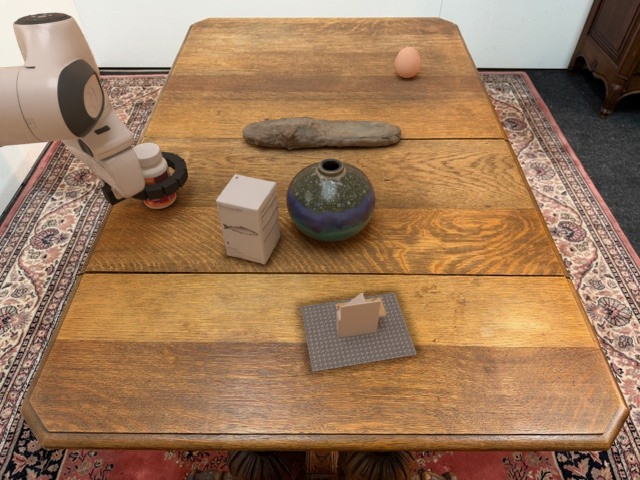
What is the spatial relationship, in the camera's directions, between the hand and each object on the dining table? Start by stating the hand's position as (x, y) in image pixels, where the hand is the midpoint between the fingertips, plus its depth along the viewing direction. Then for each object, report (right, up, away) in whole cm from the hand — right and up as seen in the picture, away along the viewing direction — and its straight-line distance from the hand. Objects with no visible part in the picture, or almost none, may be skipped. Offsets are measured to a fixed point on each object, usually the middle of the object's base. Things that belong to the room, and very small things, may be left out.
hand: (114, 191), depth 83 cm
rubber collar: (+4, +2, +4) cm, 6 cm away
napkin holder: (+41, -22, -13) cm, 49 cm away
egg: (+59, +35, +43) cm, 81 cm away
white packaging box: (+25, -10, -1) cm, 27 cm away
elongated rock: (+36, +14, +22) cm, 45 cm away
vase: (+38, -6, +3) cm, 39 cm away
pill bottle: (+5, -1, +9) cm, 10 cm away
